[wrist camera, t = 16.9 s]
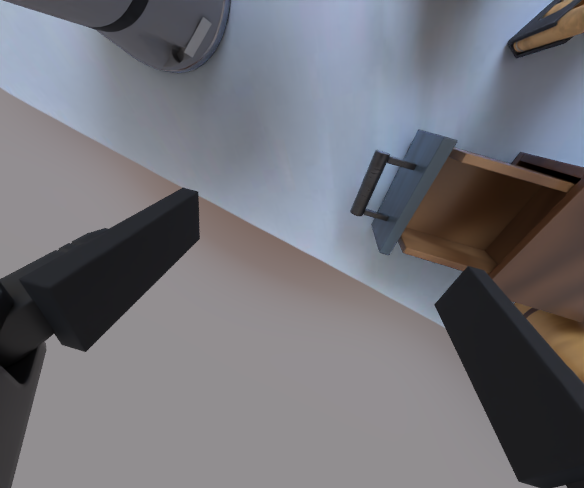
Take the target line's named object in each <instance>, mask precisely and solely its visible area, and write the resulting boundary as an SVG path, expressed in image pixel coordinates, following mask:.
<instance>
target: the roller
mask: <svg viewBox="0 0 584 488" xmlns="http://www.w3.org/2000/svg"><path fill="white" fill-rule="evenodd" d="M514 305H515V306H516V307H517V308H518V310H519V311H520V312H521V313H522V314H523V315H524V317H525V318H526V319H527V320H528V321H529V322H530V323H531V325H532V326H533V327H534V328H535V329H536V330H537V331H538V333H539V334H540V335H541V336H542V337H543V338H544V340H545V341H546V342H547V343H548V344H549V345H550V346H551V348H552V349H553V350H554V351H555V352H556V353H557V354H558V356H559V357H560V358H561V359H562V360H563V361H564V363H565V364H566V365H567V366H568V367H569V368H570V369H571V370H572V371H573V372H574V373H575V374H576V375H577V376H578V378H579V379H580V380H581V381H582V382H583V383H584V323H582V322H578V321H575V320H572V319H568V318H565V317H562V316H558V315H555V314H552V313H549V312H545V311H542V310H539V309H535V308H532V307H529V306H525V305H522V304H519V303H515V304H514Z"/></svg>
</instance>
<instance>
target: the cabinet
mask: <svg viewBox="0 0 584 488" xmlns="http://www.w3.org/2000/svg"><path fill="white" fill-rule="evenodd" d="M512 164H514V165H517V166H521V167H524V168H528V169H531V170H535V171H538V172H542V173H545V174H549V175H552V176H555V177H558V178H561V179H565V180H568V181H571V182H574V183H577V184H576V185H575V186H574V187H573V188H572V189H571V190H570V191H569V192H568V193H567V194H566V195H565V196H564V197H563V198H562V199H561V200H560V201H559V202H558V203H557V205H556V206H555V207H554V208H553V209H552V210H551V211H550V212H549V213H548V214H547V215H546V216H545V217H544V218H543V219H542V220H541V221H540V222H539V223H538V224H537V225H536V226H535V227H534V228H533V229H532V230H531V231H530V232H529V233H528V234H527V235H526V236H525V238H524V239H523V240H522V241H521V242H520V243H519V244H518V245H517V246H516V247H515V248H514V249H513V250H512V251H511V252H510V253H509V254H508V255H507V256H506V257H505V258H504V259H503V260H502V261H501V262H500V263H499V264H498V265H497V266H496V267H495V268H494V269H493V270H492V272H491V273H490V274H489V276H490V277H491V279H492V280H493V281H494V282H495V283H496V284H497V285H498V287H499V288H500V289H501V290H502V291H503V292H504V294H505V295H506V296H507V297H508V298H509V299H510V300H511V301H512V302H515V303H519V304H522V305H525V306H529V307H532V308H535V309H539V310H542V311H545V312H549V313H552V314H555V315H558V316H562V317H565V318H568V319H572V320H575V321H578V322H582V323H584V167H580V166H576V165H571V164H567V163H563V162H559V161H555V160H551V159H547V158H543V157H539V156H535V155H531V154H527V153H523V152H520V153H519V154H518V156H517V157H516V158H515V160H514V161H513V162H512Z"/></svg>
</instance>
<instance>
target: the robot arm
mask: <svg viewBox="0 0 584 488" xmlns="http://www.w3.org/2000/svg"><path fill="white" fill-rule="evenodd" d="M3 1H6V2H10V3H13V4H16V5H19V6H22V7H25V8H29V9H32V10H35V11H38V12H41V13H45V14H48V15H51V16H54V17H57V18H61V19H64V20H67V21H70V22H73V23H77V24H80V25H83V26H86V27H89V28H92V29H95V30H97V31H98V32H100V33H101V34H102V35H104V36H105V37H106V38H108V39H109V40H110V41H112V42H113V43H114V44H116V45H117V46H118V47H120V48H121V49H122V50H124V51H125V52H126V53H128V54H129V55H131V56H132V57H133V58H135V59H137V60H138V61H140V62H142V63H144V64H146V65H148V66H150V67H153V68H155V69H159V70H163V71H168V72H174V73H181V72H188V71H191V70H194V69H196V68H198V67H199V66H201V65H202V64H204V63H205V62H206V61H207V60H208V59H209V58H210V57H211V56H212V54H213V53H214V52H215V50H216V49H217V47H218V45H219V43H220V41H221V39H222V36H223V34H224V31H225V28H226V24H227V20H228V15H229V8H230V0H3ZM199 237H200V236H199V202H198V192H197V191H193V190H190V189H186V188H182V189H180V190H178V191H176V192H174V193H173V194H171V195H169V196H167V197H165V198H164V199H162V200H160V201H158V202H157V203H155V204H153V205H151V206H149V207H147V208H146V209H144V210H142V211H140V212H138V213H137V214H135V215H133V216H131V217H130V218H128V219H126V220H124V221H122V222H120V223H119V224H117V225H115V226H113V227H112V228H110V229H106V228H104V229H101V230H97V231H94V232H91V233H87V234H86V235H84V236H82V237H80V238H78V239H76V240H74V241H72V243H71V244H70V243H68V244H66V245H64V246H63V247H61V248H59V250H58V251H57V250H55V251H53V252H51V253H49V254H47V255H45V256H44V257H42V258H40V259H38V260H36V261H34V262H32V263H30V264H28V265H26V266H25V267H23V268H21V269H19V270H17V271H15V272H13V273H11V274H9V275H8V276H5V277H4V278H1V279H0V488H11V486H12V482H13V478H14V474H15V470H16V466H17V463H18V459H19V454H20V451H21V447H22V442H23V439H24V435H25V431H26V427H27V423H28V419H29V415H30V412H31V408H32V404H33V400H34V396H35V392H36V388H37V384H38V380H39V376H40V373H41V369H42V365H43V360H44V357H45V353H46V343H45V342H44V341H45V340H47V339H48V338H49V337H50V336H52V335H53V334H55V335H56V336H57V338H58V340H59V341H60V342H61V344H62V345H65V346H68V347H71V348H75V349H78V350H81V351H85V352H86V351H87V350H88V349H89V348H90V347H91V346H92V345H93V344H94V343H95V342H96V341H97V340H98V339H99V338H100V337H101V336H102V335H103V334H104V333H105V332H106V331H107V330H108V329H109V328H110V327H111V326H112V325H113V324H114V323H115V322H116V321H117V320H118V319H119V318H120V317H121V316H122V315H123V314H124V313H125V312H126V311H127V310H128V309H129V308H130V307H131V306H132V305H133V304H134V303H135V302H136V301H137V300H138V299H140V297H142V295H144V293H145V292H146V291H148V290H149V289H150V288H151V286H153V285H154V284H155V283H156V281H158V280H159V279H160V278H161V277H162V276H163V275H164V274H165V273H166V272H167V271H168V269H170V268H171V267H172V266H173V265H174V264H175V263H176V262H177V261H178V260H179V259H180V258H181V257H182V256H183V255H184V254H185V253H186V252H187V251H188V250H189V249H190V248H191V247H192V246H193V245H194V244H195V243H196V242H197V241H198V240H199V239H200V238H199ZM435 307H436V309H437V311H438V313H439V315H440V317H441V320H442V322H443V324H444V326H445V328H446V330H447V332H448V334H449V336H450V338H451V341H452V343H453V345H454V347H455V349H456V351H457V353H458V355H459V357H460V359H461V361H462V364H463V366H464V368H465V370H466V372H467V374H468V376H469V378H470V380H471V382H472V384H473V387H474V389H475V391H476V393H477V395H478V397H479V399H480V401H481V403H482V406H483V407H484V410H485V412H486V414H487V416H488V418H489V420H490V422H491V425H492V427H493V429H494V431H495V433H496V435H497V437H498V439H499V441H500V443H501V445H502V448H503V449H504V452H505V454H506V456H507V458H508V460H509V462H510V464H511V467H512V468H513V471H514V473H515V475H516V477H517V479H518V481H519V482H522V483H525V484H529V485H532V486H536V487H539V488H554V487H558V486H563V485H566V486H567V488H584V383H583V382H582V381H581V380H580V379H579V378H578V376H577V375H576V374H575V373H574V372H573V371H572V370H571V369H570V368H569V367H568V366H567V365H566V364H565V363H564V361H563V360H562V359H561V358H560V357H559V356H558V354H557V353H556V352H555V351H554V350H553V349H552V348H551V346H550V345H549V344H548V343H547V342H546V341H545V340H544V338H543V337H542V336H541V335H540V334H539V333H538V331H537V330H536V329H535V328H534V327H533V326H532V325H531V323H530V322H529V321H528V320H527V319H526V318H525V317H524V315H523V314H522V313H521V312H520V311H519V310H518V308H517V307H516V306H515V305H514V304H513V303H512V302H511V300H510V299H509V298H508V297H507V296H506V295H505V294H504V292H503V291H502V290H501V289H500V288H499V287H498V285H497V284H496V283H495V282H494V281H493V280H492V279H491V277H490V276H489V275H488V274H487V273H486V272H485V270H481V269H478V268H474V267H470V266H467V268H466V269H465V270H464V271H463V272H462V273H461V275H460V276H459V277H458V278H457V279H456V280H455V282H454V283H453V284H452V285H451V286H450V287H449V288H448V290H447V291H446V292H445V293H444V294H443V295H442V297H441V298H440V299H439V300H438V301H437V302H436V304H435Z"/></svg>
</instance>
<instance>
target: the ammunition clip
mask: <svg viewBox="0 0 584 488" xmlns="http://www.w3.org/2000/svg"><path fill="white" fill-rule="evenodd" d="M582 33H584V0H554V1H553V2H552V3H550V4H549V5H548V6H547V7H546V8H545V9H544V10H543V11H541V12H540V13H539V14H538V15H537V16H536V17H535V18H534V19H532V20H531V21H530V22H529V23H528V24H527V25H526V26H525V27H523V28H522V29H521V30H520V31H519V32H518V33H517V34H516V35H515V36H513V37H512V38H511V39H510V40H509V42H508V45H509V46H510V48H511V50H512V52H513V53H514V55H515V57H516V58H519V57H523V56H526V55H529V54H532V53H535V52H539V51H542V50H545V49H548V48H552V47H555V46H558V45H561V44H564V43H566V42H567V41H568V40H570V39H571V38H572V37H573V36H575V35H578V34H582Z"/></svg>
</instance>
